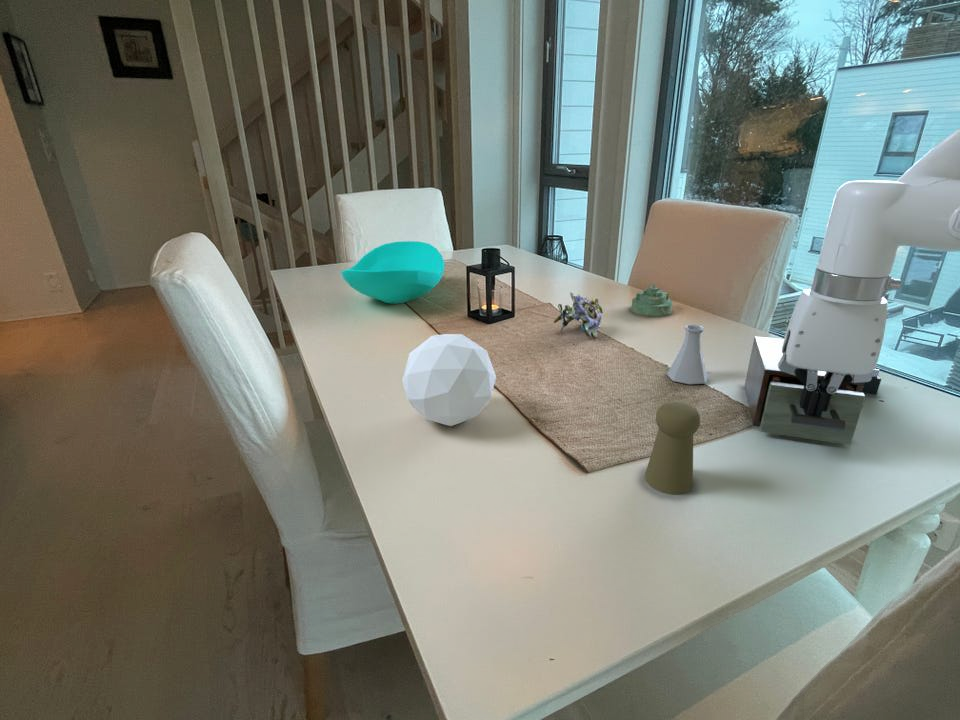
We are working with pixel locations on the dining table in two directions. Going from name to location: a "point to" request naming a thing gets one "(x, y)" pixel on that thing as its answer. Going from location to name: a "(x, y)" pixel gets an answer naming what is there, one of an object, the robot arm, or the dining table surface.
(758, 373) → the cabinet
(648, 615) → the dining table surface
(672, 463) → the olive pawn
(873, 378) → the binder clip
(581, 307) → the passion flower
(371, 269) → the table top decor
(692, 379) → the flask
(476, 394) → the geometric sphere
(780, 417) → the drawer
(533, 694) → the dining table surface
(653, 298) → the decorative artifact
